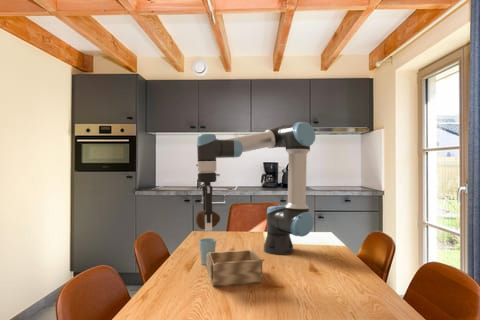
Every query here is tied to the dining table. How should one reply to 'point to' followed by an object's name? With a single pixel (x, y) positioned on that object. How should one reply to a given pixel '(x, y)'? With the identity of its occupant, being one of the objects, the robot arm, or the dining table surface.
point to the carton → (233, 268)
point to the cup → (206, 248)
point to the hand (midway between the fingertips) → (207, 228)
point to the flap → (238, 262)
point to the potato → (201, 219)
